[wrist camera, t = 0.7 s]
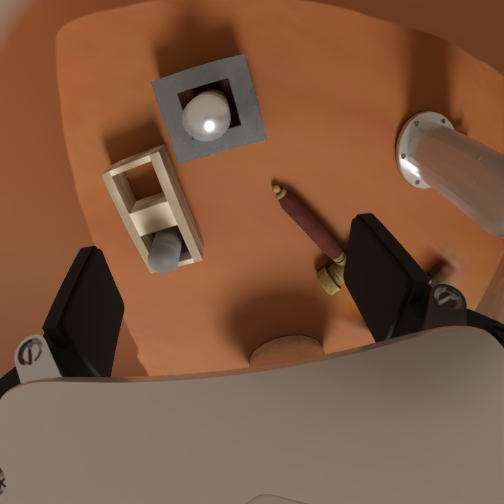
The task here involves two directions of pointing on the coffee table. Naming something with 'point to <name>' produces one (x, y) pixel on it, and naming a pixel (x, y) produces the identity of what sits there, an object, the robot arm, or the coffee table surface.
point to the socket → (174, 85)
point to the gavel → (316, 240)
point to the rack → (156, 213)
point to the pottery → (286, 350)
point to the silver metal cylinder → (207, 115)
